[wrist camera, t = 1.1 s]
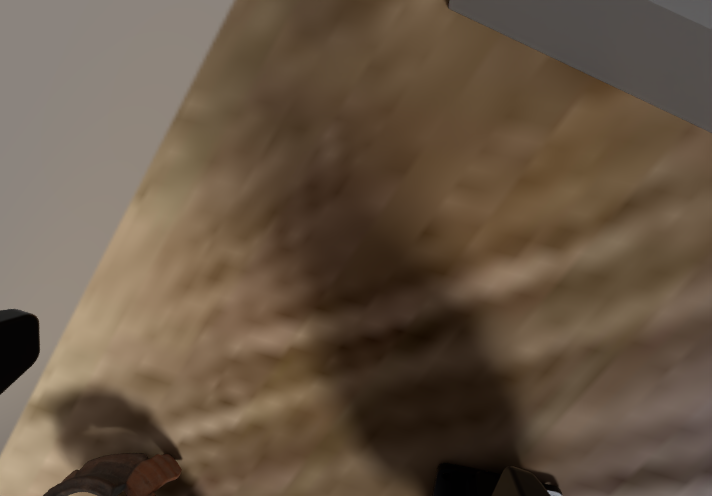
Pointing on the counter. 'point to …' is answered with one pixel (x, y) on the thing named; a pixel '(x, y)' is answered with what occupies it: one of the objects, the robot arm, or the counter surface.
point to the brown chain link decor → (120, 476)
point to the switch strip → (619, 44)
